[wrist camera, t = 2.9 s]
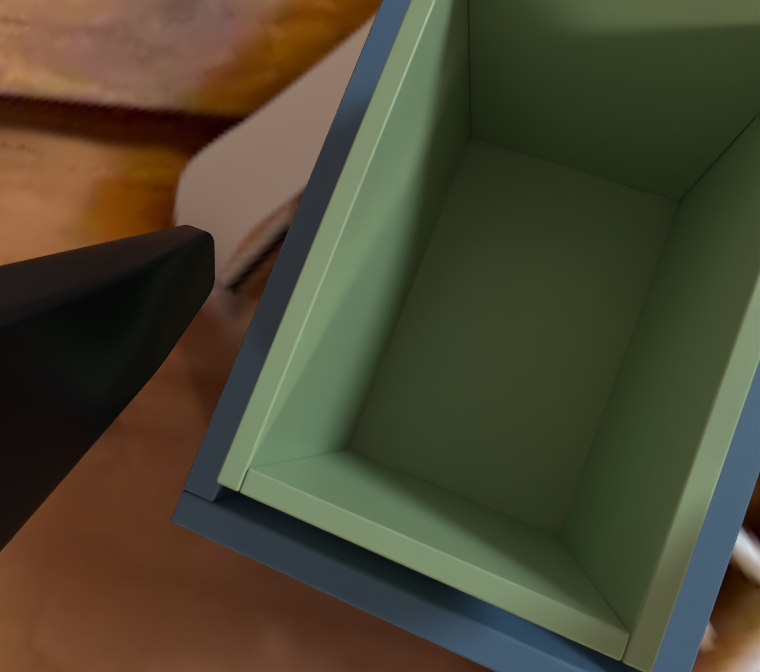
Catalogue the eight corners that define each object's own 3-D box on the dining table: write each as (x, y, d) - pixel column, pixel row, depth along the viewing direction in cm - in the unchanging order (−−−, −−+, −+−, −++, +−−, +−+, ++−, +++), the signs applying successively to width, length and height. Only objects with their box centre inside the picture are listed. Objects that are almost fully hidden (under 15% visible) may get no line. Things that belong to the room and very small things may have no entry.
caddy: (565, 552, 17) (651, 675, 9) (334, 456, 18) (214, 482, 10) (692, 200, 18) (885, 1, 9) (462, 130, 19) (451, -103, 11)
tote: (621, 676, 17) (665, 751, 13) (231, 501, 19) (168, 521, 15) (803, 153, 18) (895, 78, 14) (416, 43, 20) (401, -50, 16)
